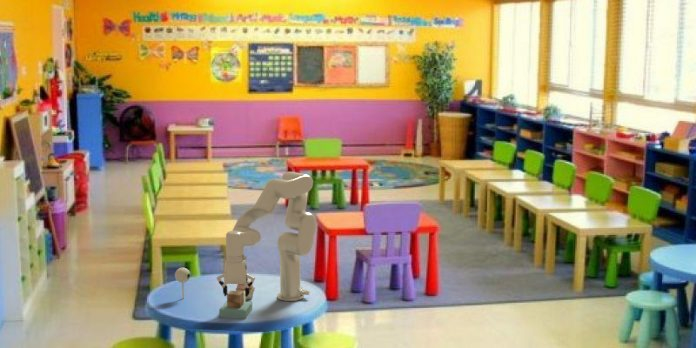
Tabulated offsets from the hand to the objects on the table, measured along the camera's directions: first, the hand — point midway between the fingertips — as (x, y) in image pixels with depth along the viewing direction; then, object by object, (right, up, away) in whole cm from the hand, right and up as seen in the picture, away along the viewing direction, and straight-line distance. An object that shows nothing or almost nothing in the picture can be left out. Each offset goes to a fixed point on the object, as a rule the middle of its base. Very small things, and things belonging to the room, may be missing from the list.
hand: (236, 295), depth 396 cm
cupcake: (+1, -5, +23) cm, 23 cm away
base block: (0, -9, +1) cm, 9 cm away
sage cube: (-1, -6, +12) cm, 14 cm away
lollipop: (-28, -5, +22) cm, 36 cm away
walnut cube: (0, -5, 0) cm, 5 cm away
